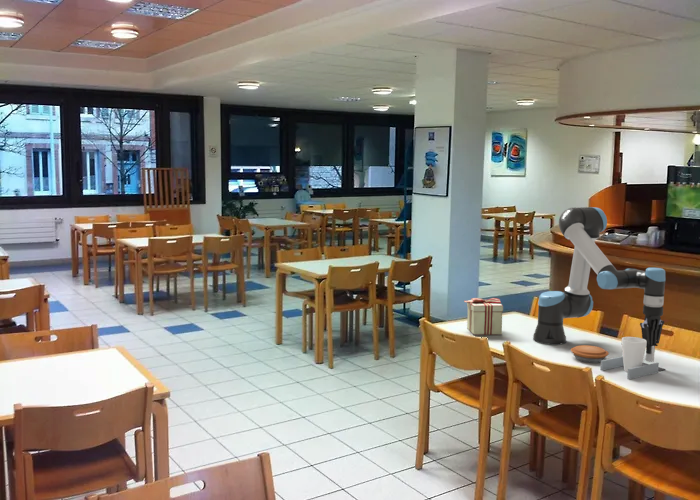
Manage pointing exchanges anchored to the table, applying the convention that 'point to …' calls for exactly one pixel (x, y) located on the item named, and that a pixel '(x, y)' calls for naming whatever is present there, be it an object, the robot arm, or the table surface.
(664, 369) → the trap mat
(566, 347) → the table surface
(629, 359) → the foam cup
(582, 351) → the pie
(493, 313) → the gift box
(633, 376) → the channel
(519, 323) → the table surface
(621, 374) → the table surface
